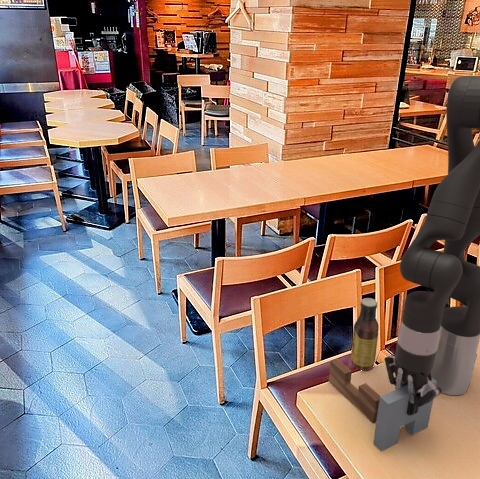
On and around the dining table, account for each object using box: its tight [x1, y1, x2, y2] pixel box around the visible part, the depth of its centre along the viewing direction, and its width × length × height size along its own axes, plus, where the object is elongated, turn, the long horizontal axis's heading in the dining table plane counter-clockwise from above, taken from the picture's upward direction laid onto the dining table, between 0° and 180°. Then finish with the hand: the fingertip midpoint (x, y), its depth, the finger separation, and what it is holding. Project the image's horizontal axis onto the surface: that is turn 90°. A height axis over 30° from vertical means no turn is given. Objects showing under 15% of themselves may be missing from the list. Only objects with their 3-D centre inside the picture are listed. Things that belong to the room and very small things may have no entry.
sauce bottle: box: [350, 297, 379, 371], centre depth 119 cm, size 6×6×20 cm
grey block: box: [372, 378, 437, 452], centre depth 98 cm, size 14×2×13 cm, turn 118°
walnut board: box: [328, 358, 382, 424], centre depth 109 cm, size 2×16×6 cm, turn 28°
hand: (405, 408), depth 98 cm, fingers closed on grey block, 2 cm apart
